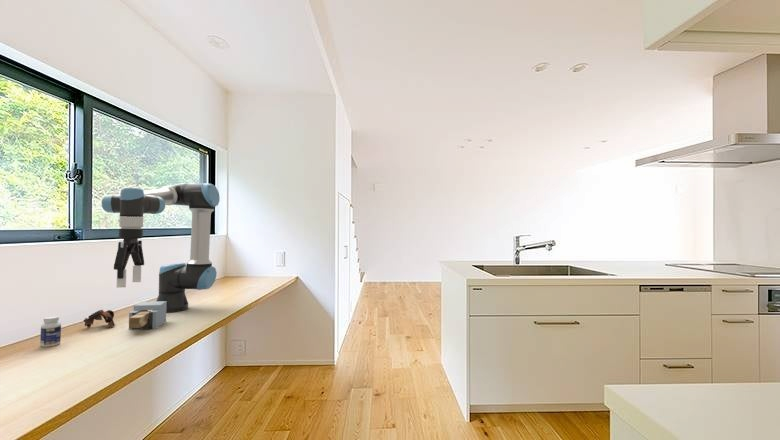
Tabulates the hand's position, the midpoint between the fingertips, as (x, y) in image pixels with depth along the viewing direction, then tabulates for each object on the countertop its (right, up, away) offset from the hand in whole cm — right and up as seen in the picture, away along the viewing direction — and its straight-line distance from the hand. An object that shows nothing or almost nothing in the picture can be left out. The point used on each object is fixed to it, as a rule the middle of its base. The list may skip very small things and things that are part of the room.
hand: (129, 284), depth 143 cm
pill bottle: (-22, -20, -9) cm, 31 cm away
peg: (-3, -18, +11) cm, 21 cm away
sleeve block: (-4, -21, +18) cm, 28 cm away
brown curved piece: (-22, -20, +14) cm, 33 cm away
